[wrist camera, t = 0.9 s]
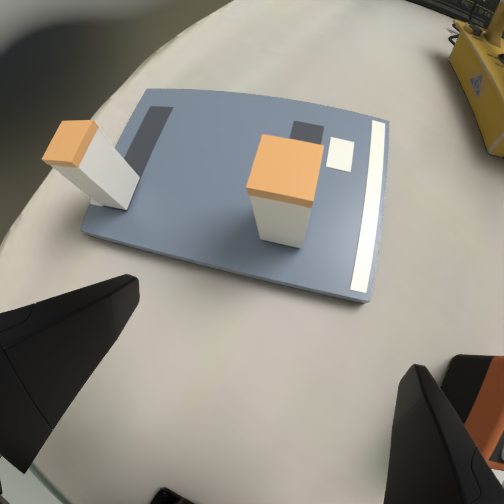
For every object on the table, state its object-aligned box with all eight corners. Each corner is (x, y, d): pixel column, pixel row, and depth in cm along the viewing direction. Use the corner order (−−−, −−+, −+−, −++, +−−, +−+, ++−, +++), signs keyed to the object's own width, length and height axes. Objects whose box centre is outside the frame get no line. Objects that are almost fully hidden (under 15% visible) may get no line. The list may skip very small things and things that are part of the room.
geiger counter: (485, 166, 24) (565, 74, 9) (422, 22, 30) (443, -55, 16) (537, 177, 23) (611, 109, 8) (470, 37, 29) (497, -31, 15)
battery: (487, 368, 19) (567, 373, 9) (454, 441, 18) (523, 477, 8) (453, 352, 20) (535, 353, 10) (417, 429, 19) (484, 472, 9)
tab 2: (302, 249, 21) (313, 201, 14) (259, 239, 22) (246, 187, 14) (311, 209, 22) (324, 145, 14) (269, 200, 22) (262, 134, 15)
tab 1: (127, 210, 24) (71, 161, 16) (99, 204, 24) (41, 159, 16) (140, 176, 24) (93, 120, 16) (112, 173, 25) (62, 121, 17)
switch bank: (364, 303, 22) (370, 301, 20) (88, 235, 26) (79, 229, 24) (385, 130, 25) (389, 120, 24) (151, 97, 29) (146, 88, 28)
